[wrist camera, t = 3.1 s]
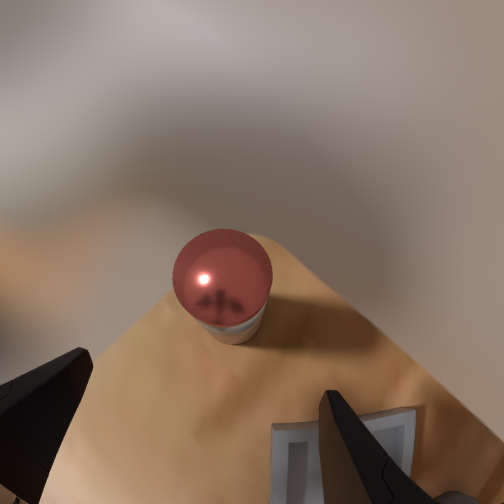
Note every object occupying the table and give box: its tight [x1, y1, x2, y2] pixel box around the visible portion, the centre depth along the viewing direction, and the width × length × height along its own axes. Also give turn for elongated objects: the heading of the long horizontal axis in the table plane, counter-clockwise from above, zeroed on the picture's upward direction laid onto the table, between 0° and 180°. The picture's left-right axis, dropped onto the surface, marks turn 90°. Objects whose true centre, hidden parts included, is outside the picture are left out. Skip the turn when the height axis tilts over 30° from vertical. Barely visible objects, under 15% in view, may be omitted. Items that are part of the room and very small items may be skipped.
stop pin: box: [173, 229, 273, 344], centre depth 17 cm, size 4×4×10 cm
